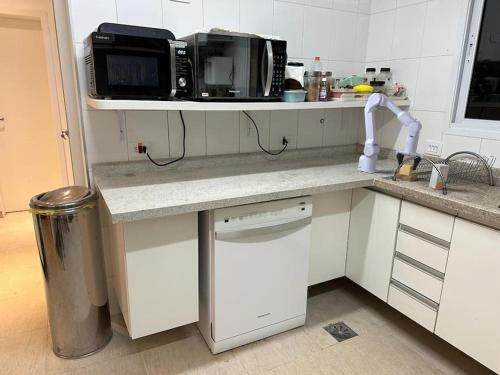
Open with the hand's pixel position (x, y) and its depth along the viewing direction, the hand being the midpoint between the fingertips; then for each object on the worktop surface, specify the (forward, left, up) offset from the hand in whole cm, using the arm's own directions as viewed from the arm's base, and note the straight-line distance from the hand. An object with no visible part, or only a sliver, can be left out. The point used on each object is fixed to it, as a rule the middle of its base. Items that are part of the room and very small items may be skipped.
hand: (406, 168), depth 189 cm
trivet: (0, 0, -5) cm, 5 cm away
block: (0, 0, -3) cm, 3 cm away
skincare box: (+19, -6, -6) cm, 20 cm away
